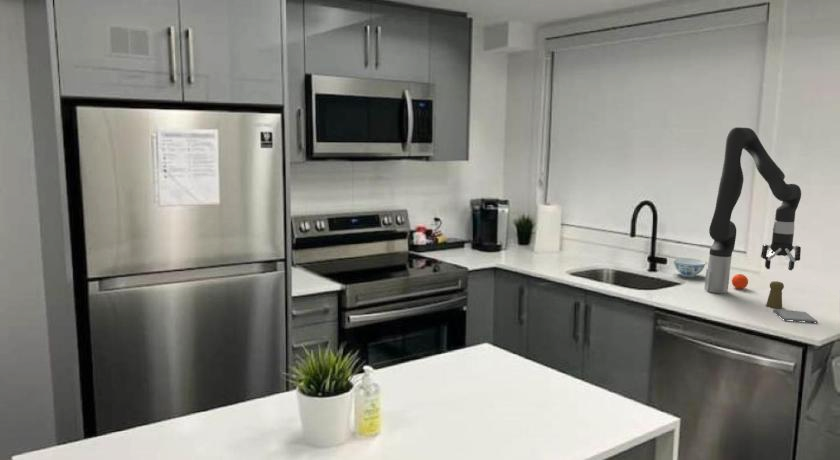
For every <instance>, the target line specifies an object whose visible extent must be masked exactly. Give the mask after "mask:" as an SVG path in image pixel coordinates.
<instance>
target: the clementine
mask: <svg viewBox="0 0 840 460" xmlns="http://www.w3.org/2000/svg"><path fill="white" fill-rule="evenodd" d="M731 284H732V286H733V287H734V288H736V289H737V290H742V289H745V288H746V287H748V285H749V279H748V277H747V276H746V275H745V274H743V273H738V274H735V275H734V276H733V277H732V279H731Z"/></svg>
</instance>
